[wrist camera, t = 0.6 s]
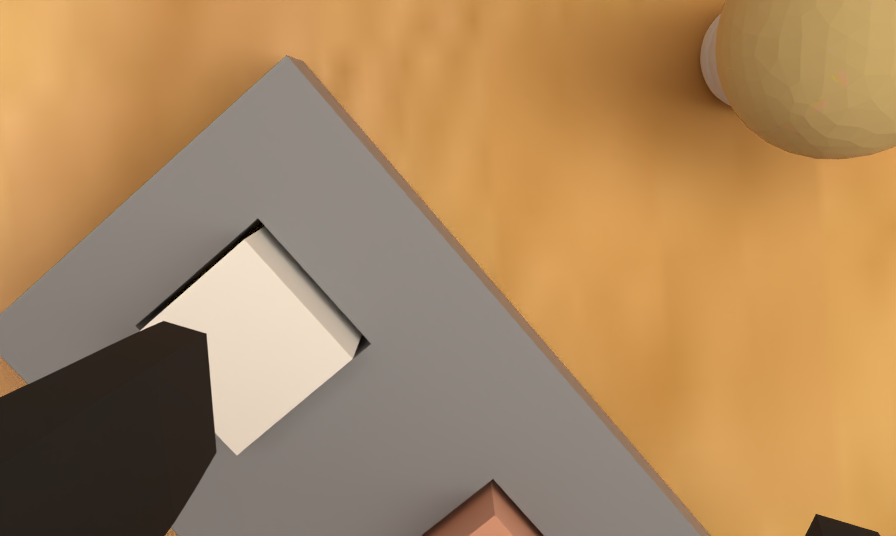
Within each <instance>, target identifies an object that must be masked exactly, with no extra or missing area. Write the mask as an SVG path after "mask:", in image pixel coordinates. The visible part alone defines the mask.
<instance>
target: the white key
mask: <svg viewBox="0 0 896 536" xmlns="http://www.w3.org/2000/svg"><path fill="white" fill-rule="evenodd" d="M162 321H166V322H169V323H173V324H176V325H179V326H183V327H186V328H189V329H193V330H196V331H200V332H203V333H206V334H207V345H208V357H209V368H210V380H211V392H212V404H213V415H214V427H215V433H216V434H217V436H218V437H219V438H220V439H221V440H222V441H223V442H224V443H225V444H226V445H227V446H228V447H229V448H230V449H231V450H232V451H233V452H234V453H235V454H236V455H238V454H239V453H241V452H242V451H243V450H244V449H245V448H247V447H248V446H249V445H250V444H251V443H253V442H254V441H255V440H256V439H257V438H259V437H260V436H261V435H262V434H263V433H264V432H266V431H267V430H268V429H269V428H270V427H272V426H273V425H274V424H275V423H276V422H278V421H279V420H280V419H281V418H282V417H284V416H285V415H286V414H287V413H288V412H290V411H291V410H292V409H293V408H294V407H296V406H297V405H298V404H299V403H300V402H302V401H303V400H304V399H305V398H306V397H308V396H309V395H310V394H311V393H312V392H314V391H315V390H316V389H317V388H318V387H320V386H321V385H322V384H323V383H324V382H326V381H327V380H328V379H329V378H330V377H332V376H333V375H334V374H335V373H336V372H338V371H339V370H340V369H341V368H342V367H344V366H345V365H346V364H347V363H348V362H350V361H351V360H352V359H353V357H354V354H355V352H356V349H357V346H358V344H359V341H360V338H361V336H362V333H361V332H360V331H359V330H358V329H357V328H356V326H355V325H354V324H353V323H352V322H351V321H350V320H349V319H348V318H347V316H346V315H345V314H344V313H343V312H342V311H341V310H340V309H339V308H338V306H337V305H336V304H335V303H334V302H333V301H332V300H331V299H330V298H329V296H328V295H327V294H326V293H325V292H324V291H323V290H322V289H321V288H320V286H319V285H318V284H317V283H316V282H315V281H314V280H313V279H312V278H311V276H310V275H309V274H308V273H307V272H306V271H305V270H304V269H303V268H302V267H301V265H300V264H299V263H298V262H297V261H296V260H295V259H294V258H293V257H292V255H291V254H290V253H289V252H288V251H287V250H286V249H285V248H284V247H283V245H282V244H281V243H280V242H279V241H278V240H277V239H276V238H275V237H274V235H273V234H272V233H271V232H270V231H269V230H268V229H267V228H266V227H265V226H264V227H263V228H261V229H260V230H258V231H257V232H255V233H253V234H252V235H250V236H249V237H247V238H246V239H244V240H243V241H242V242H241V243H239V244H238V245H237V246H236V247H235V248H234V249H233V250H231V251H230V252H229V253H228V254H227V255H226V256H225V257H223V258H222V259H221V260H220V261H219V262H218V263H217V264H215V265H214V266H213V267H212V268H211V269H210V270H209V271H208V272H206V273H205V274H204V275H203V276H202V277H201V278H200V279H198V280H197V281H196V282H195V283H194V284H193V285H192V286H190V287H189V288H188V289H187V290H186V291H185V292H184V293H182V294H181V295H180V296H179V297H178V298H177V299H176V300H174V301H173V302H172V303H171V304H170V305H169V306H168V307H166V308H165V309H164V310H163V311H162V312H161V313H160V314H158V315H157V316H156V317H155V318H154V319H153V320H152V321H150V322H149V323H148V324H147V325H146V326H145V327H144V328H142V329H141V330H143V329H146V328H148V327H150V326H153V325H155V324H157V323H160V322H162ZM141 330H140V331H141Z"/></svg>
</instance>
